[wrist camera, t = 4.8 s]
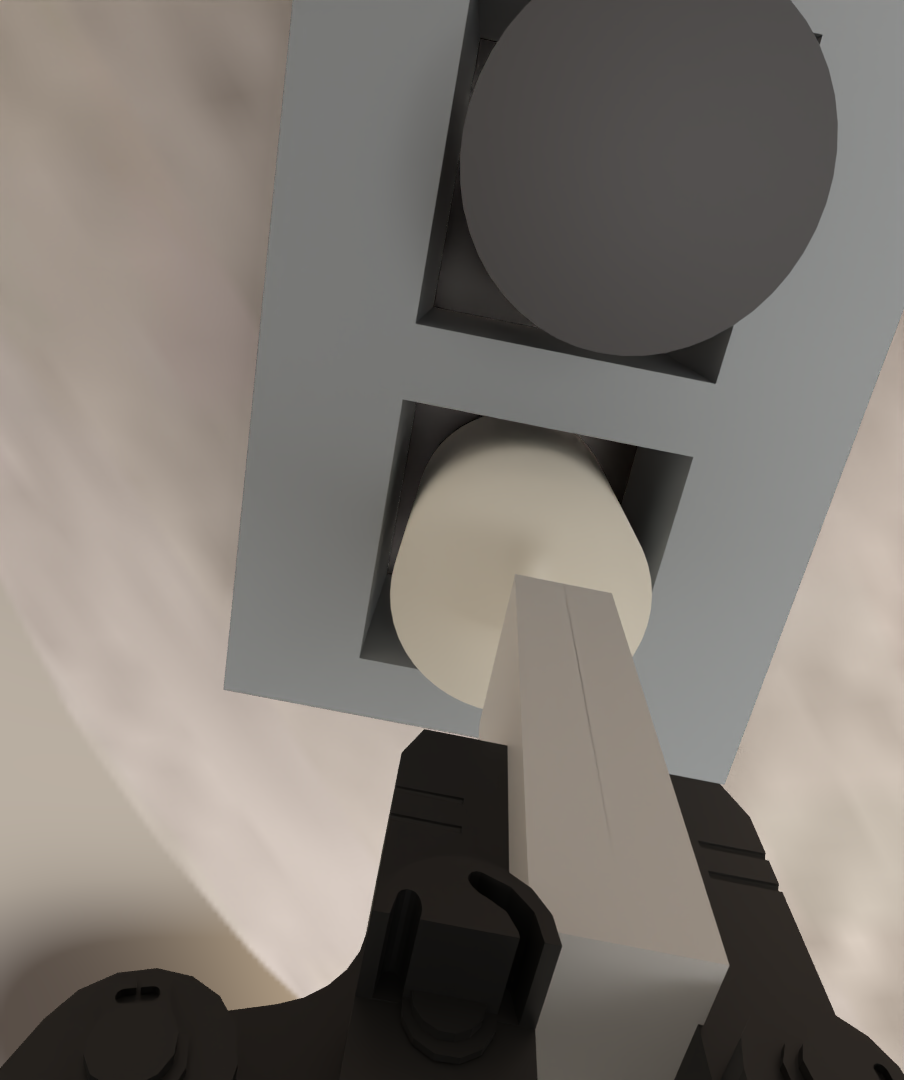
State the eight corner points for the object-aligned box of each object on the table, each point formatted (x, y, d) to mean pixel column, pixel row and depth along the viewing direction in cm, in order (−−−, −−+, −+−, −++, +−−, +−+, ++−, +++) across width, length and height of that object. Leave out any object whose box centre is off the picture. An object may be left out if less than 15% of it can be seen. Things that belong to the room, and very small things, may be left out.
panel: (418, -544, 15) (383, -915, 10) (1037, -405, 15) (1285, -705, 10) (278, 600, 23) (223, 689, 18) (677, 677, 23) (724, 784, 19)
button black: (498, 32, 15) (501, -96, 10) (748, 85, 15) (896, -12, 10) (450, 297, 17) (430, 319, 11) (675, 341, 17) (766, 386, 11)
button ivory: (435, 394, 20) (413, 451, 14) (630, 433, 20) (684, 504, 14) (403, 574, 22) (371, 688, 16) (581, 609, 22) (613, 734, 16)
